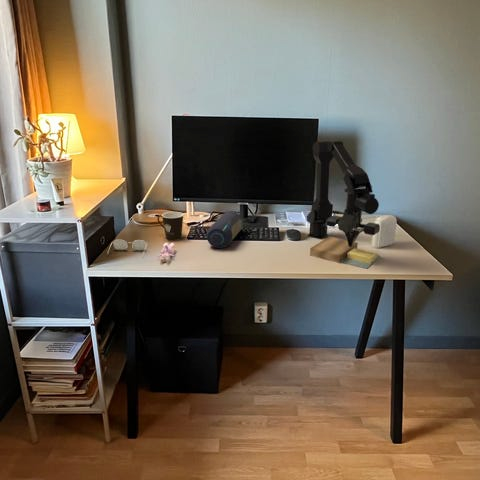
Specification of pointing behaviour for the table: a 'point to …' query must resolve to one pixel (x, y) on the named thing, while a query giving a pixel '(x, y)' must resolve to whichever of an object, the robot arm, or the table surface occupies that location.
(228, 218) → the portable speaker
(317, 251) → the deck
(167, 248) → the rabbit figure
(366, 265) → the mat
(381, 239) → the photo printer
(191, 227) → the table surface
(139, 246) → the sunglasses
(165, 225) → the coffee mug
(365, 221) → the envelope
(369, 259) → the pale yellow foam brick
